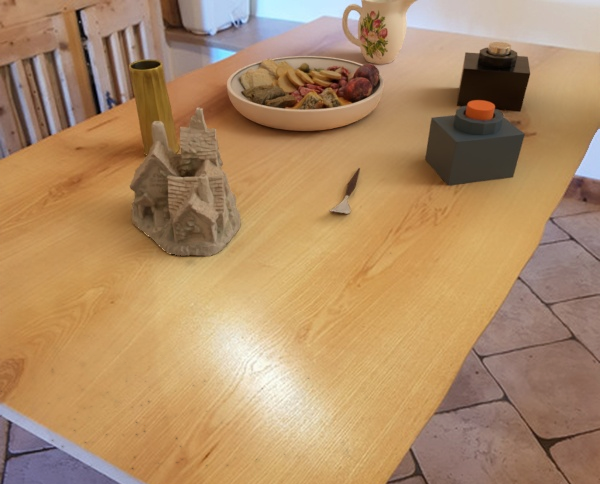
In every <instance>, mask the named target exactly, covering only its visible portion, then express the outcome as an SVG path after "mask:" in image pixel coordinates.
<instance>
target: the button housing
mask: <svg viewBox="0 0 600 484" xmlns="http://www.w3.org/2000/svg"><path fill="white" fill-rule="evenodd" d="M466 109H467V106H460V107H458V108H457V109H456V110H455V114H453V115H445V116H444V115H443V116H433V117H431V119H430V125H429V132H428V138H427V144H426V151H425V156H424V157H425V158H424V160H425V162H426V163H427V164H428V165H429V166H430V167H431V168H432V169H433V171H434V172H435V173H436V174H437V175H438V176H439V177H440V179H441V180H442V181H443V182H444V183H445V184H446V185H447V186H448V187H449V186H458V185H465V184H473V183H481V182H489V181H496V180H504V179H513V178H514V176H515V171H516V169H517V166H518V165H517V164H518V162H519V157H520V154H521V150H522V146H523V143H524V139H525V136H526V133H524V132H523V131H522V130H521V129H519V128H518V127H517V126H516V125H514V124H513V123H511V122H510V120H508V119H507V118H505V117H504V113H502V112H501V110H497V109H494V114H493V118H492V119H490V120H474V119H471V118H469V117H466V116H465V114H466Z"/></svg>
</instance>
